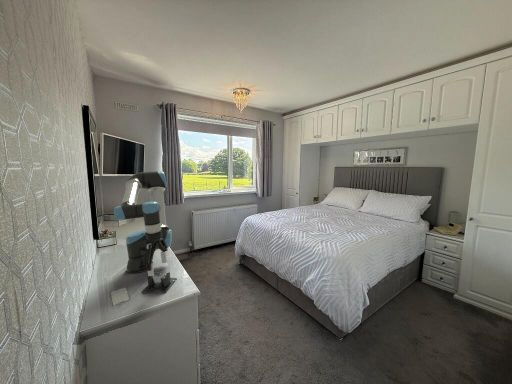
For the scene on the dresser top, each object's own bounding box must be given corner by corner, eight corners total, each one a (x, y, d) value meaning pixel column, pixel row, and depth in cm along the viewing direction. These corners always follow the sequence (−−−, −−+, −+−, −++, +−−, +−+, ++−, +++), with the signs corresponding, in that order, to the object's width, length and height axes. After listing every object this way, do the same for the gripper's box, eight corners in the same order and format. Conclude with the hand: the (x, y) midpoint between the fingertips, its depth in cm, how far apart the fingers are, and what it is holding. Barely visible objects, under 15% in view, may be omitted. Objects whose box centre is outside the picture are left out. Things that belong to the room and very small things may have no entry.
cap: (157, 281, 119) (156, 271, 118) (167, 281, 118) (166, 270, 117) (151, 287, 113) (150, 276, 112) (162, 287, 112) (161, 276, 112)
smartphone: (126, 286, 116) (130, 299, 105) (126, 287, 116) (130, 300, 105) (109, 292, 112) (112, 306, 100) (110, 293, 112) (112, 307, 100)
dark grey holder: (141, 292, 110) (140, 282, 109) (155, 279, 123) (153, 269, 122) (165, 292, 109) (164, 282, 108) (176, 279, 122) (175, 269, 121)
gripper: (158, 224, 124) (162, 257, 128) (131, 240, 100) (137, 282, 103) (171, 223, 124) (175, 257, 127) (146, 240, 99) (152, 282, 103)
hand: (158, 268), depth 115 cm, fingers open, 13 cm apart
